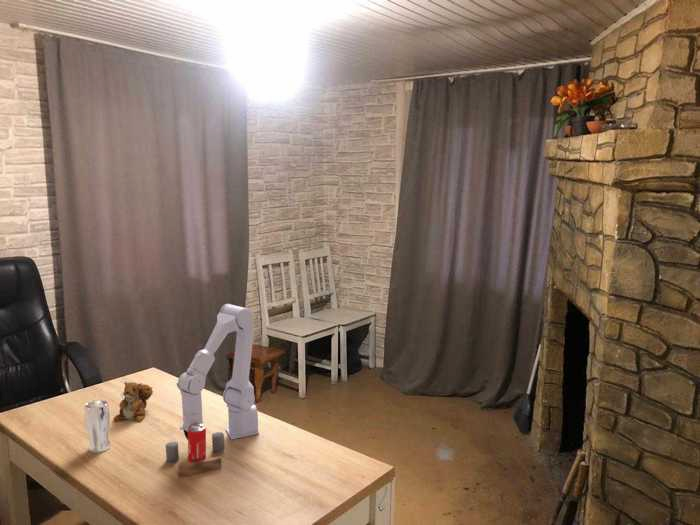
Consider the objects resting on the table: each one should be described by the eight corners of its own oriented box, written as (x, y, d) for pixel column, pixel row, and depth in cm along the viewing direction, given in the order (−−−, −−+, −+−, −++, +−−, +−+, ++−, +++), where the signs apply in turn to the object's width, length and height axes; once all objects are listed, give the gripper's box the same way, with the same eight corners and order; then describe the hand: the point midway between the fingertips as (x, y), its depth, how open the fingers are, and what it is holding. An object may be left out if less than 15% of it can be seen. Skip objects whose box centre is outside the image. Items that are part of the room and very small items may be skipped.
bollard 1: (177, 455, 169) (177, 440, 168) (179, 461, 166) (178, 446, 165) (165, 458, 168) (164, 443, 167) (167, 463, 164) (166, 448, 163)
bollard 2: (222, 445, 175) (222, 431, 174) (225, 450, 172) (224, 436, 171) (211, 448, 173) (210, 433, 173) (213, 453, 170) (213, 438, 169)
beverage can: (200, 468, 162) (200, 433, 159) (185, 465, 163) (184, 430, 160) (208, 458, 167) (208, 424, 164) (193, 455, 168) (193, 421, 165)
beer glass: (116, 445, 175) (113, 401, 172) (98, 455, 169) (94, 410, 166) (101, 440, 178) (97, 397, 175) (83, 450, 172) (78, 406, 169)
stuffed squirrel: (111, 422, 190) (108, 387, 188) (133, 405, 204) (130, 372, 201) (138, 424, 189) (135, 389, 186) (158, 407, 202) (155, 373, 200)
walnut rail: (220, 464, 164) (219, 455, 163) (221, 467, 162) (220, 458, 162) (178, 474, 159) (178, 465, 158) (179, 477, 157) (179, 467, 157)
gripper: (175, 403, 171) (177, 443, 173) (182, 423, 158) (185, 466, 161) (198, 399, 174) (200, 438, 176) (207, 418, 161) (209, 460, 164)
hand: (194, 451), depth 169 cm, fingers closed
